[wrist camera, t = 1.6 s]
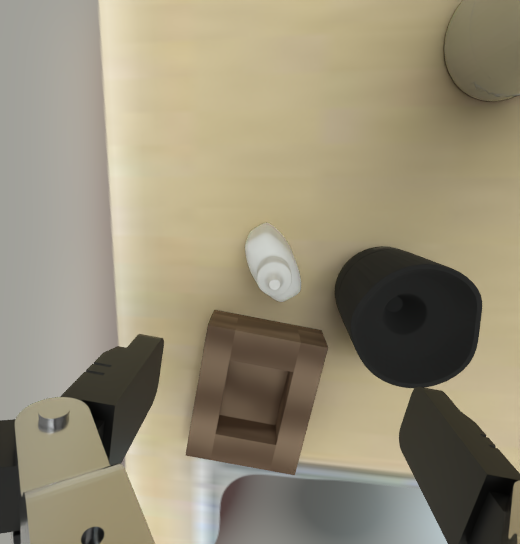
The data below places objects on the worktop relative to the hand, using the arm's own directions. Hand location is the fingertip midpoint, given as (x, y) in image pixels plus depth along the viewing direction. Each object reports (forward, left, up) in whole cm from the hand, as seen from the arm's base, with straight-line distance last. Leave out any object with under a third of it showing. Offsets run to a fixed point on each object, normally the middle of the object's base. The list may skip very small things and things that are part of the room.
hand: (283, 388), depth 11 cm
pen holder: (+2, +11, -24) cm, 27 cm away
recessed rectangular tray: (+14, +1, -24) cm, 28 cm away
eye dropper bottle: (0, 0, -24) cm, 24 cm away
